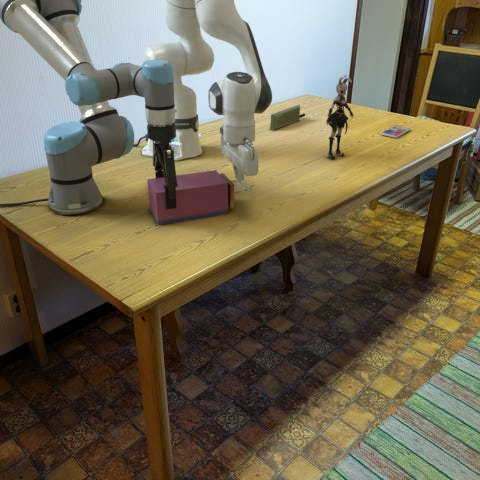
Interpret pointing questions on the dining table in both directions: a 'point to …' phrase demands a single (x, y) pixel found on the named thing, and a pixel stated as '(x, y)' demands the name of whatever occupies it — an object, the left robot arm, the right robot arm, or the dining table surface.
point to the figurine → (338, 116)
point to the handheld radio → (285, 117)
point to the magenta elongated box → (189, 197)
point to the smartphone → (395, 131)
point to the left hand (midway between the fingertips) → (166, 200)
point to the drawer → (231, 189)
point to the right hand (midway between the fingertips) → (239, 179)
